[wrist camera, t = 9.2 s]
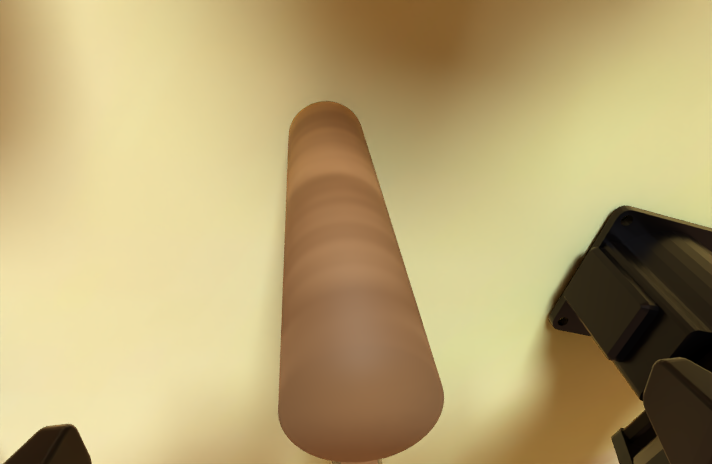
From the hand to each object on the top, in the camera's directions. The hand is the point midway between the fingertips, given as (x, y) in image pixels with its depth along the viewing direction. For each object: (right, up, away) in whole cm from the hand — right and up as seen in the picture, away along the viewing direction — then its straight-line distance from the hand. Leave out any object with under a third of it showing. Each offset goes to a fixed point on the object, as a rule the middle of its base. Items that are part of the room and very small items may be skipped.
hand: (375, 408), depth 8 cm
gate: (-1, 0, +14) cm, 14 cm away
